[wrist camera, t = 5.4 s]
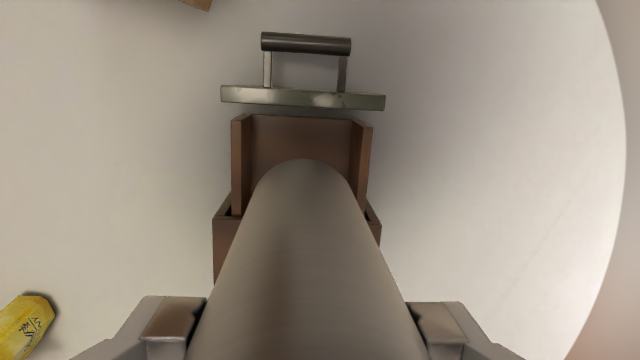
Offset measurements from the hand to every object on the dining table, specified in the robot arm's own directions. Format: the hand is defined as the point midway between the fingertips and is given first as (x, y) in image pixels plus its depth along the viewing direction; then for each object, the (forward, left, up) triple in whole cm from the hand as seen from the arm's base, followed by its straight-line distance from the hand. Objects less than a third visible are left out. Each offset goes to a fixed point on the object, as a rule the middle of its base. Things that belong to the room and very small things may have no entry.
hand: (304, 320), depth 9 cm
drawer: (0, 0, -26) cm, 26 cm away
